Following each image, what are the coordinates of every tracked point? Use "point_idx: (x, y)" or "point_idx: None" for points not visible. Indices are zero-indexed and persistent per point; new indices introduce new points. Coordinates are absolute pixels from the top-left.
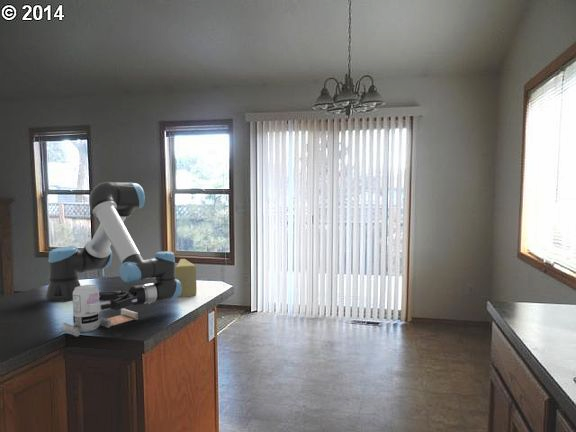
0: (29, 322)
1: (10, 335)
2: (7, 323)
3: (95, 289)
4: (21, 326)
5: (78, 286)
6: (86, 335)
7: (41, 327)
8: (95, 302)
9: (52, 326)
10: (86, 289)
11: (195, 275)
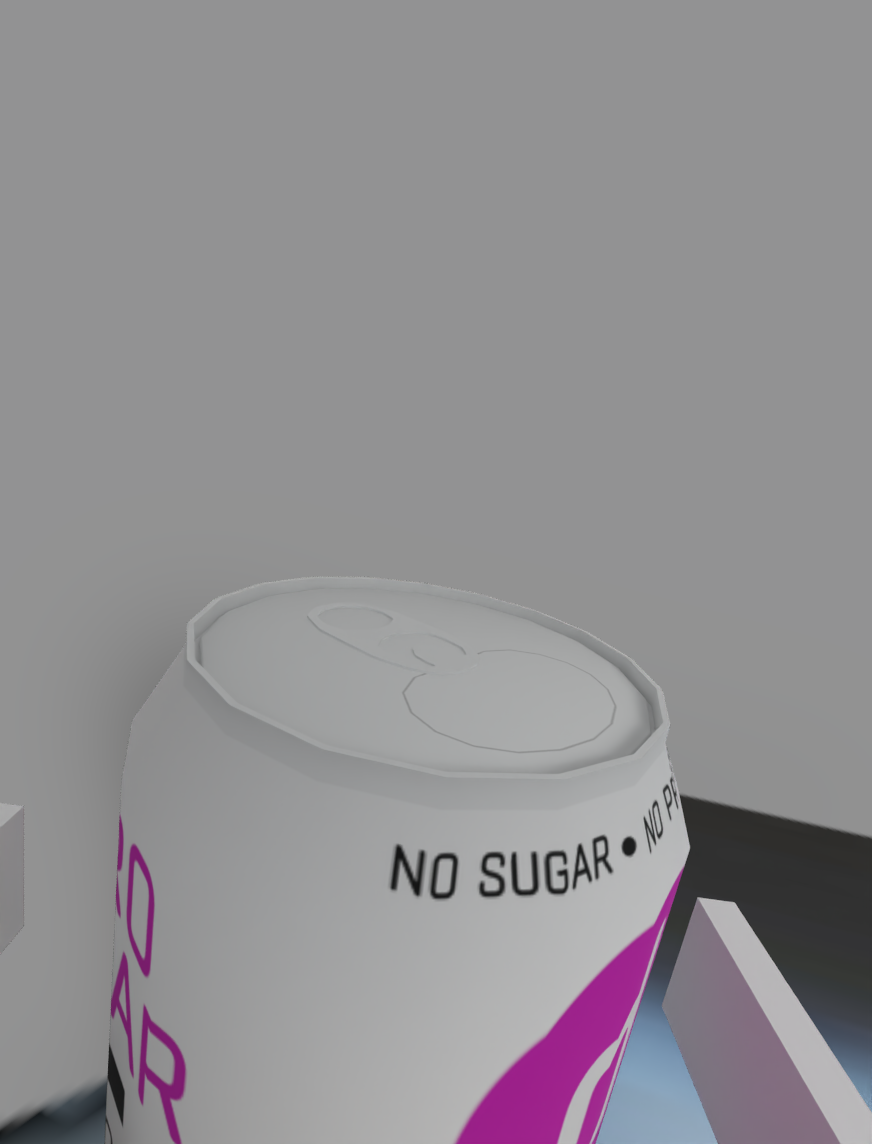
0: (851, 919)
1: None
2: (844, 839)
3: (172, 730)
4: (747, 860)
5: (594, 640)
6: (48, 1131)
7: (669, 926)
8: (111, 999)
9: (665, 994)
10: (228, 600)
11: None
